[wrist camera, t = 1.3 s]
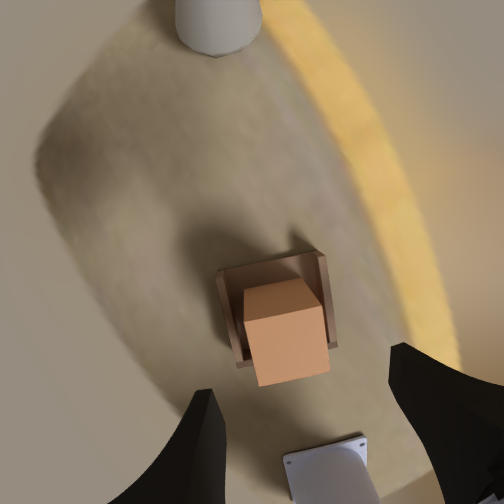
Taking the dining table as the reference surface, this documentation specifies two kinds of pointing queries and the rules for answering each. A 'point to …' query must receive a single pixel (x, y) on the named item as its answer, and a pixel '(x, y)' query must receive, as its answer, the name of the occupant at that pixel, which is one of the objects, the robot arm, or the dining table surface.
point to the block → (285, 332)
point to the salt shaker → (217, 25)
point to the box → (270, 272)
